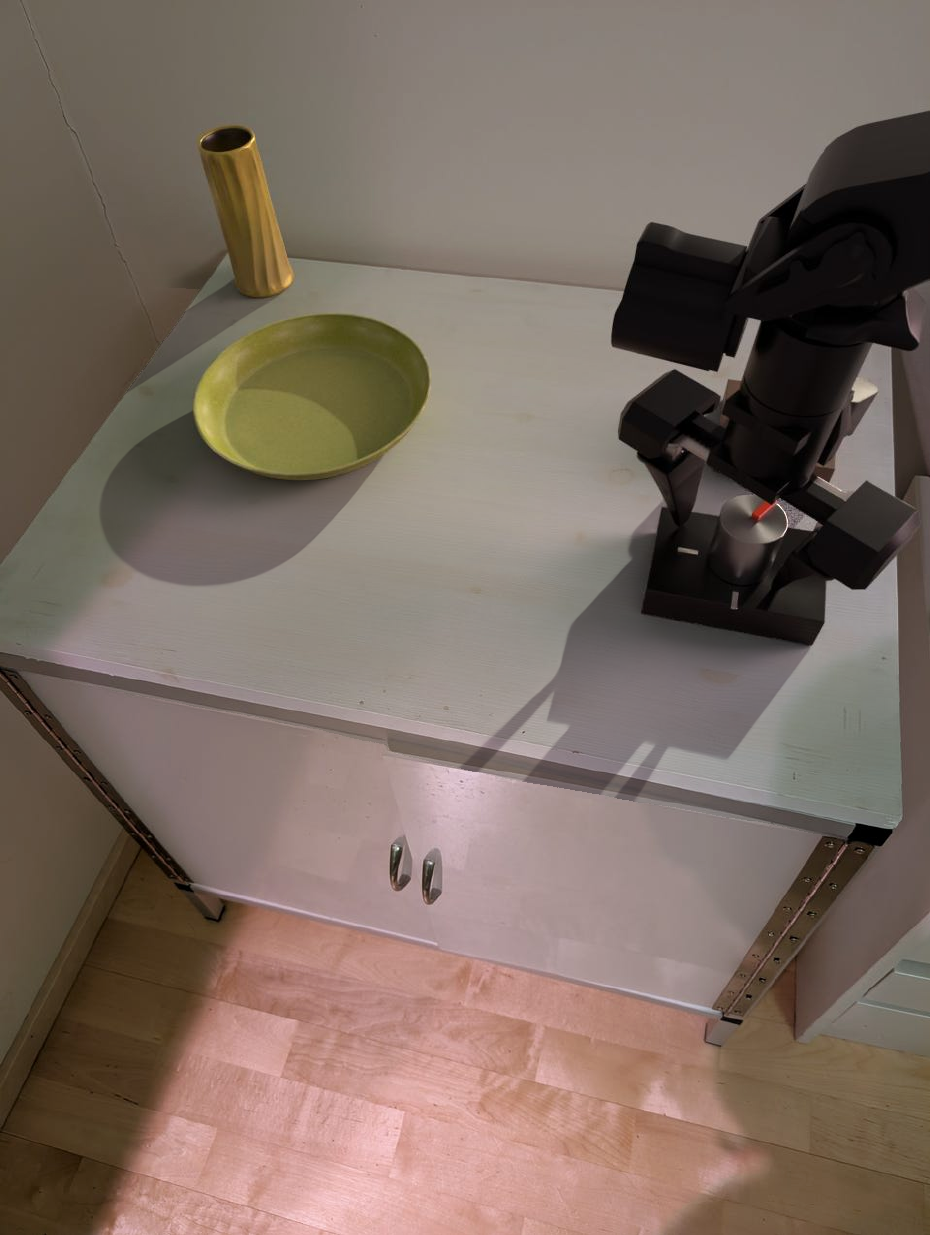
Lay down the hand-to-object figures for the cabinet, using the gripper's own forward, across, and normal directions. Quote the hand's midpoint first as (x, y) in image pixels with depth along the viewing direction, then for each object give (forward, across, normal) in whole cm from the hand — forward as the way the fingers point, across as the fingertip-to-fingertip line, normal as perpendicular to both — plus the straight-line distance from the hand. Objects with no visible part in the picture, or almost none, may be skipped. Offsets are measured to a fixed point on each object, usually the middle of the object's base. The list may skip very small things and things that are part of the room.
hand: (728, 553), depth 60 cm
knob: (0, -1, 0) cm, 1 cm away
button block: (+3, +5, -15) cm, 16 cm away
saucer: (+5, +36, +9) cm, 38 cm away
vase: (+5, +57, 0) cm, 57 cm away
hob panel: (+3, -1, 0) cm, 3 cm away
